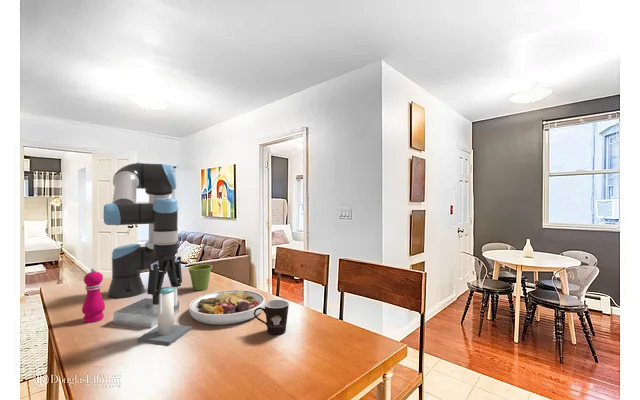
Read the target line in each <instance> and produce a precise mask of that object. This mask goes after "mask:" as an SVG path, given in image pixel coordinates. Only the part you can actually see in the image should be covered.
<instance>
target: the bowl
mask: <svg viewBox="0 0 640 400" xmlns="http://www.w3.org/2000/svg"><path fill="white" fill-rule="evenodd" d="M265 303H266V298H265V296H264V294H263V295H262V294H261V293H259V292H256V291H253V290H244V289H232V290H231V289H230V290H229V289H226V290H219V291H213V292H209V293H207V294H206V293H205V294H203V295H200V296H198V297H196V298H194V299H193V300H191V302H189V305H188V310H189V314H190V316H191V317H192V318H193V319H195V320H196V321H197V322H200V323H202V324H205V325H214V326H225V325H233V324H239V323H242V322H246V321H248V320H251V319H253V318H256V317H255V316H254V311H255V309H256V308H259V307H261V308H264V309H265ZM262 311H263V310H261V309H258V310H257V311H256V312H255V314H256V316H258V315H259V314H260V313H261V312H262Z"/></svg>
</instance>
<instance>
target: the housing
mask: <svg viewBox="0 0 640 400" xmlns="http://www.w3.org/2000/svg"><path fill="white" fill-rule="evenodd" d="M179 312H180V301H179V300H177V305H176V306H174V315H176V314H178V313H179ZM118 324H119V326H128V325H129V327H139V328H148V329H153V327H154V328H155V326H158V314H153V298H145V297H144V298H142V299H140V300H138V301H136V302H133V303H131V304H129V305H127V306H125V307H122V308H120V309H118V310H115V311H113V325H118Z"/></svg>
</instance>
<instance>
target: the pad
mask: <svg viewBox="0 0 640 400" xmlns="http://www.w3.org/2000/svg"><path fill="white" fill-rule="evenodd" d="M192 329H193V326H189V325H179V324H174V332H173V333H171V334H168V335H159V334H158V326H156V327H154V328H152V329H151V330H149V331H147V332H145V333H144V334H143V335H141V336H138V337H137V342H141V343H150V344H158V345H167V346H171V345H172V344H173V343H175V342H176V341H178V340H179V339H180V338H182V337H183V336H184V335H186V334H187V333H189V332H190V331H191V330H192Z"/></svg>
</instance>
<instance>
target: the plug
mask: <svg viewBox="0 0 640 400" xmlns="http://www.w3.org/2000/svg"><path fill="white" fill-rule="evenodd" d="M160 294H162V314H158V324H157V327H158V334H159V335H168V334H171V333H173V332H174V325H175V314H174V288H173V287H172V286H165V287H163V286H162V287H161V292H160Z"/></svg>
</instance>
